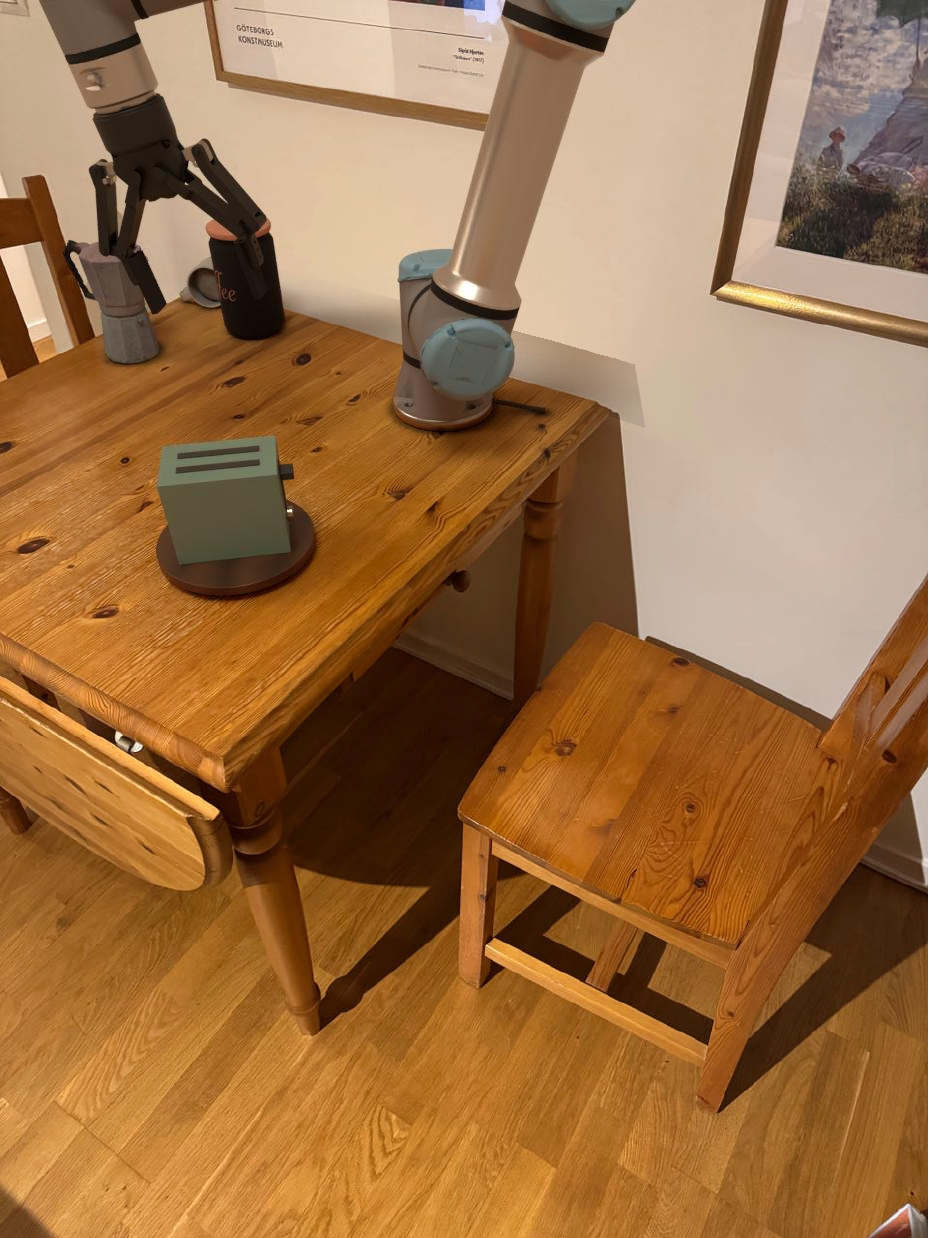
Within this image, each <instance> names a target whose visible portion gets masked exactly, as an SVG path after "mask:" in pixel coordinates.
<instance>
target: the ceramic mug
mask: <svg viewBox="0 0 928 1238" xmlns="http://www.w3.org/2000/svg"><path fill="white" fill-rule="evenodd" d="M178 295H179V297H180V298H181V300H182V301H183V302H187V301H191V300H193V301H195V302H196V303H197V305H200V306H202V307H205V308H209V309H215V308H219V307H221V305H220V299H219V294H218V289H217V284H216V279H215V274H214V269H213V264H212V259H211V256H208V257H206V258H204V259H202V260H201V261H200V262H199V263H198V264H197V265H196V266H195V267H193V269H191V270H190V272H189V273H188V275H187V279H186V286H185V287H184V288H183V289H182V290H181V291H180V292H179V294H178Z"/></svg>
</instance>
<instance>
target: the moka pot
mask: <svg viewBox="0 0 928 1238" xmlns="http://www.w3.org/2000/svg"><path fill="white" fill-rule="evenodd" d="M136 246H137V248H136V249H135V250H134V253H135V252H137V251H140V250H142V248H141V245H139V244H137V243H136V245H135V247H136ZM72 253H75V254H76V255H78V259H79V262H80V264H81V267H82V269H83V272H84V275H85V278H86V280H87V282H88V285H89V287H90V290H91V291H89V288H88V287H87V286H86V284H85V283H84V280H83V277H82V275H81V274H80V273H79V269H78V268H77V266H76V263H75V262H74V260H73V258H72V256H71V254H72ZM62 256H63V258H64V261H65V263H66V264H67V266H68V269H69V270H70V272H71V273H72V275H73V277H74V278H75V280H76V282H77V284H78V287H79V288H80V290H81V292H82V293H83V296H84V298H86V299H88V300H92V301H96V302H97V303H98V306H99V310H100V311H101V312H100V320H101V329H102V336H103V347H104V354H105V356H106V357H107V358H108V359H109V360H111V361H113V362H115V363H121V364H139V363H143V362H147V361H149V360H152V359H153V358H155V357H156V356H157V355H158V354H159V353H160V348H161V346H160V343H159V339H158V337H157V334H156V331H155V328H154V326H153V322H152V320H151V317H150V314H149V311H148V309H147V307H146V300H145V298H144V296H143V294H142V292H141V290H140V288H139V285H137V286H134V285H133V284H132V282H131V281H130V279H129V276H128V274H127V272H126V270H125V268H124V266H123V264H122V262H121V260H120V259H118V258H117V257H115V256H110V255H109V256H107V257H105V256H103V255H101V253H100V252H99V242H98V241H96V242H93V243H90V244H89V243H88V242H84V241H81V242H77V241H75V240H72V239H68V240H67V242H66V245H65V246H64V249H63V250H62ZM145 256H146V259H147V261H148V262H149V258H148V256H147V255H145Z"/></svg>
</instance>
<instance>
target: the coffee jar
mask: <svg viewBox="0 0 928 1238" xmlns="http://www.w3.org/2000/svg"><path fill="white" fill-rule="evenodd" d="M271 229H272V222H271V220H270V219H269V218H268V217H267V221H266V223H265V224H264V225H263V226H262V227H261V228H260V230H259V231H257V232H255V235H256V238H257V241H258V244H259V246H260V249H261V252H262V254H263V263H262V264H261V265H260V268H261V271H262V273H263V276H264V279H265V282H266V284H267V287H268V290H267V292H266V293H265V294H264V296H263V297H262V298H261V299H260V300H254V297H253V295H252V292H251V289H250V287H249V284H248V281H247V279H246V276H245V274H244V271H243V268H242V266H241V263H240V261H239V258H238V255H237V253H236V250H235V248H234V245H233V243H234V242H235V240H236V239H237V237H236V236H235V235H233V234H232V233H231V232H230V231H228V230H227V229H226V228H224V227H223V226H222V225H221V224H219V223H218V222H217V221H215V220H214V219H213V218H212V219H211V220H210V221H208V222H207V223H206V225H205V231H206V232H205V233H207V235H208V236H209V240H208V248H209V254H210V257H211V259H212V264H213V269H214V274H215V279H216V284H217V289H218V294H219V299H220V305H221V306H220V309H221V314H222V319H223V324H224V327H225V329H226V331H227V332H228V333H230V335H231V337H234V338H236V339H239V340H244V341H259V340H260V341H261V340H266V339H268V338H272V337H274V336H276V335H278V334H280V332H281V331H282V330H283V327H284V326H285V323H286V316H285V310H284V309H285V307H284V302H283V295H282V289H281V282H280V275H279V267H278V261H277V254H276V248H275V247H276V246H275V242H274V241H275V240H274V237H273V235H272V234H271V232H270V231H271Z"/></svg>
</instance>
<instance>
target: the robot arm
mask: <svg viewBox="0 0 928 1238" xmlns="http://www.w3.org/2000/svg"><path fill="white" fill-rule="evenodd" d="M209 1H211V0H38V2H39V4H40V6H41V8H42V10H43V12H44V15H45V17H46V19H47V21H48V24H49V25H50V28H51V30H52V32H53V34H54V36H55V39H56V41H57V43H58V46H59V48H60V50H61V51H62V54H63V57H64V58H65V59H64V60H65V61H66V63H67V66H68V68H69V70H70V72H71V75H72V77H73V79H74V81H75V83H76V85H77V88H78V90H79V92H80V94H81V97H82V99H83V101H84V103H85V105H86V107H87V108H89V109H91V110H94V111H95V112H94V113H93V114H92V121H93V124H94V126H95V128H96V131H97V134H98V135H99V137H100V140H101V141H102V144H103V146H104V148H105V151H107V152H108V153H109V154H110V156H111V159H112V161H108V160H107V159H106V158H100V159H99V160H97V161H96V162H94V163H93V164H92V165H90V166H89V168H88V174H89V176H90V179H91V182H92V185H93V187H94V191H95V193H94V194H95V208H96V209H95V210H96V224H97V225H96V226H97V239H98V241H97V242H99V252H100V253H101V255H103V256H105V257H107V256H109V255H110V256H115V257H117V258H118V259H120V260H121V262H122V264H123V266H124V268H125V270H126V272H127V274H128V276H129V279H130V281H131V282H132V284H133V285H134V286H137V285H139V288H140V290H141V292H142V294H143V296H144V300H145V303H146V305H147V307H148V308H149V311H150V313H151V315H158V314H159V313H160V312H161V311H162V310H163V309H164V308H165V307H166V306H167V305H168V303H167V300H166V298H165V296H164V294H163V292H162V290H161V287H160V285H159V283H158V280H157V279H156V276H155V274H154V272H153V269H152V267H151V266H150V264H149V260H148V261H147V259H146V256H147V255H146V254H145V252H144V250H143V249H141V250H140V251H137V252H135V253H134V250H135V249H136V248H137V246H136V247H135V245H136V244H137V241H138V237H139V232H140V228H141V223H142V220H143V216H144V211H145V207H146V204H147V203H146V202H147V201H148V202H149V203H154V202H156V201H158V200H159V199H164V200H165V199H166V200H169V199H174V198H176V197H177V196H179V197H180V198H182V200H186V201H189V202H190V203H192V204H193V205H195V206H197V208H199V209H200V210H201V211H202V212H204V213H205V214H206V215H208V216H209V217H210V218H211V219H212V220H213V219H214V220H215V221H217V222H218V223H219V224H221V225H222V226H223V227H224V228H226V229H227V230H228V231H230V232H231V233H232V234H233V235H235V236H236V237H237V239H236V240H235V242H234V243H233V245H234V248H235V250H236V253H237V255H238V258H239V261H240V263H241V266H242V268H243V271H244V274H245V276H246V279H247V281H248V284H249V287H250V289H251V292H252V295H253V297H254V300H260V299H261V298H262V297H263V296H264V294H265V293H266V292H267V290H268V287H267V284H266V282H265V279H264V276H263V273H262V271H261V268H260V265H261V264H262V263H263V254H262V252H261V249H260V246H259V244H258V241H257V238H256V235H255V232H257V231H259V230H260V228H261V227H262V226H263V225H264V224H265V223H266V221H267V218H268V217H267V215H266V213H264V211H263V210H262V209H261V208H260V207H259V205H258V204H257V203H256V202H255V201H254V199H252V197H251V196H250V194H248V193H247V192H246V190H245V189H244V188H243V187H242V185H240V183H239V182H238V181H237V180H236V178H235V177H234V176H233V175H232V174H231V173H230V171H229V170H228V169H227V168H226V167H225V166H224V164H223V163H222V162H221V161H220V159H219V158H218V156H217V154H216V152H215V150H214V148H213V146H212V143H211V142H210V140H209V139H208V138H205V137H204V138H203V137H202V138H201V139H200V140H199V141H197V142H196V143H195V144H192V145H189V146H186V147H185V146H184V145H183V144H182V143H181V142H180V140H179V137H178V133H177V129H176V126H175V122H174V120H173V118H172V115H171V113H170V109H169V107H168V105H167V103H166V99H165V97H164V96H163V95H161V93H158V92H156V91H155V90H157V88H158V85H159V82H158V79H157V77H156V74H155V72H154V69H153V67H152V65H151V61H150V59H149V57H148V55H147V52H146V50H145V47H144V45H143V42H142V39H141V37H140V33H139V32H138V31H137V26H136V23H135V22H138V21H140V20H141V21H142V20H146V19H150V17H154V16H158V15H161V14H164V13H168V12H172V11H175V10H181V9H183V8H188V7H191V6H195V5H198V4H201V3H205V2H209ZM213 1H214V2H216V1H218V0H213ZM636 1H637V0H504V3H503V7H502V11H501V15H500V19H501V22H502V24H503V27H504V29H505V32H506V34H507V37H508V44H507V48H506V51H505V55H504V59H503V63H502V65H501V70H500V72H499V77H498V81H497V85H496V89H495V92H494V96H493V98H492V99H493V100H492V103H491V106H490V109H489V113H488V117H487V121H486V125H485V129H484V132H483V136H482V140H481V143H480V147H479V151H478V155H477V157H476V163H475V164H474V165H475V166H474V169H473V173H472V176H471V177H472V178H471V181H470V184H469V187H468V192H467V195H466V198H465V203H464V205H463V210H462V213H461V217H460V221H459V225H458V229H457V232H456V235H455V240H454V242H453V247H452V248H436V249H427V250H426V249H425V250H420V251H416V252H413V253H410V254H409V253H408V254H407V255H406V256H404V257H403V258H402V259H401V260H400V262H399V264H398V277H397V283H398V286H399V305H400V306H399V307H400V324H401V325H400V327H401V343H402V344H401V345H402V362H401V367H400V370H399V374H398V377H397V381H396V384H395V388H394V391H393V396H392V399H393V410H394V413H395V415H396V417H398V418H399V420H401V421H402V422H403V423H405V424H407V425H409V426H412V427H415V428H418V429H421V430H427V431H434V432H435V431H436V432H446V431H447V432H448V431H449V432H451V431H456V430H457V431H458V430H463V429H467V428H470V427H472V426H473V427H474V426H475V425H477V424H480V423H481V422H482V421H484V420H486V419H487V418H488V417H489V415H490V414H491V413H492V410H493V405H498V406H504V407H510V408H515V409H521V410H524V411H530V412H534V413H544V414H545V413H546V411H547V408H546V407H541V406H535V405H529V404H525V403H519V402H515V401H510V400H504V399H498V398H493V397H494V396H493V393H495V392H496V391H498V390H499V389H500V388H501V387H502V386H503V385H504V384H505V383H506V382H507V380H508V379H509V377H510V376H511V374H512V372H513V369H514V366H515V359H516V352H515V344H514V340H513V338H512V334H513V329H514V327H515V324H516V322H517V318H518V314H519V311H520V308H521V305H522V302H523V301H522V298H521V295H520V293H519V291H518V289H517V287H516V281H517V279H518V275H519V272H520V269H521V266H522V264H523V259H524V257H525V254H526V251H527V249H528V248H527V247H528V244H529V241H530V238H531V235H532V232H533V229H534V225H535V223H536V220H537V217H538V213H539V210H540V207H541V205H542V201H543V198H544V195H545V192H546V188H547V186H548V182H549V180H550V176H551V173H552V170H553V167H554V164H555V161H556V158H557V154H558V151H559V148H560V145H561V142H562V140H563V136H564V133H565V130H566V126H567V125H568V124H567V123H568V121H569V118H570V114H571V112H572V108H573V104H574V102H575V98H576V97H577V93H578V89H579V86H580V84H581V80H582V77H583V74H584V71H585V70H586V68H587V67H588V66H590V65H591V64H593V63H594V62H596V61H598V60H599V59H600V58H603V56H604V55H605V53H606V50H607V46H608V44H609V41H610V38H611V36H612V33H613V29H614V25H615V23H616V21H618V20H620V19H621V18H622V17H623V16H624V15H625V14H627V12H628V11H630V10H631V8H632V7H633V5H634V4H635V2H636ZM190 162H191V163H192V166H193V167H194V168H197V169H199V171H200V172H201V174H202V175H203V176H204V177H205V179H206V180H207V181H208V182H209V184H210V185H211V186H212V187H213V188H214V189H215V190H216V192H217V193H218V194H219V195H220V196H221V197H220V196H219V195H218V194H217V193H215V192H214V191H213V190H211V189H210V188H209V187H208V186H207V185H206V184H204V183H203V180H202V179H201V178H200V177H199V176H198V175H196V174H195V173H194V172H192V170H190V169H189V164H190ZM118 178H119V179H120V181H122V182H123V183H125V185H127V189H126V194H125V199H124V204H125V206H124V209H123V210H124V211H123V214H122V220H121V225H120V228H119V221H118V220H119V219H118V199H117V198H118V195H117V183H116V182H117V180H118Z"/></svg>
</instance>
